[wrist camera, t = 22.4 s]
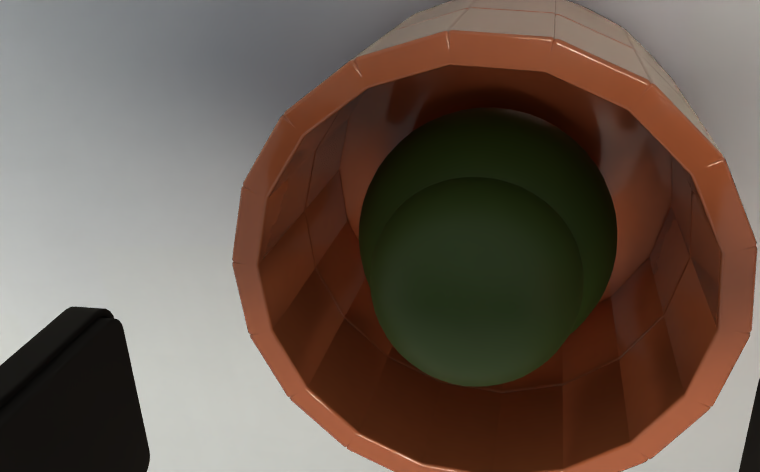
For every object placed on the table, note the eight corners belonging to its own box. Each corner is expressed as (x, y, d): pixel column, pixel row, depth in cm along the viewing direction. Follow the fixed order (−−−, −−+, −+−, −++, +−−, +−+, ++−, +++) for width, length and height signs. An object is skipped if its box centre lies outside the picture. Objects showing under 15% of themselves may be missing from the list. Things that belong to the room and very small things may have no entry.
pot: (259, 134, 22) (138, 225, 16) (558, -100, 17) (558, -104, 11) (456, 383, 24) (419, 551, 18) (767, 228, 20) (864, 377, 13)
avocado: (349, 159, 21) (243, 285, 14) (527, 33, 18) (508, 109, 11) (469, 316, 22) (428, 504, 15) (651, 218, 19) (702, 389, 13)
